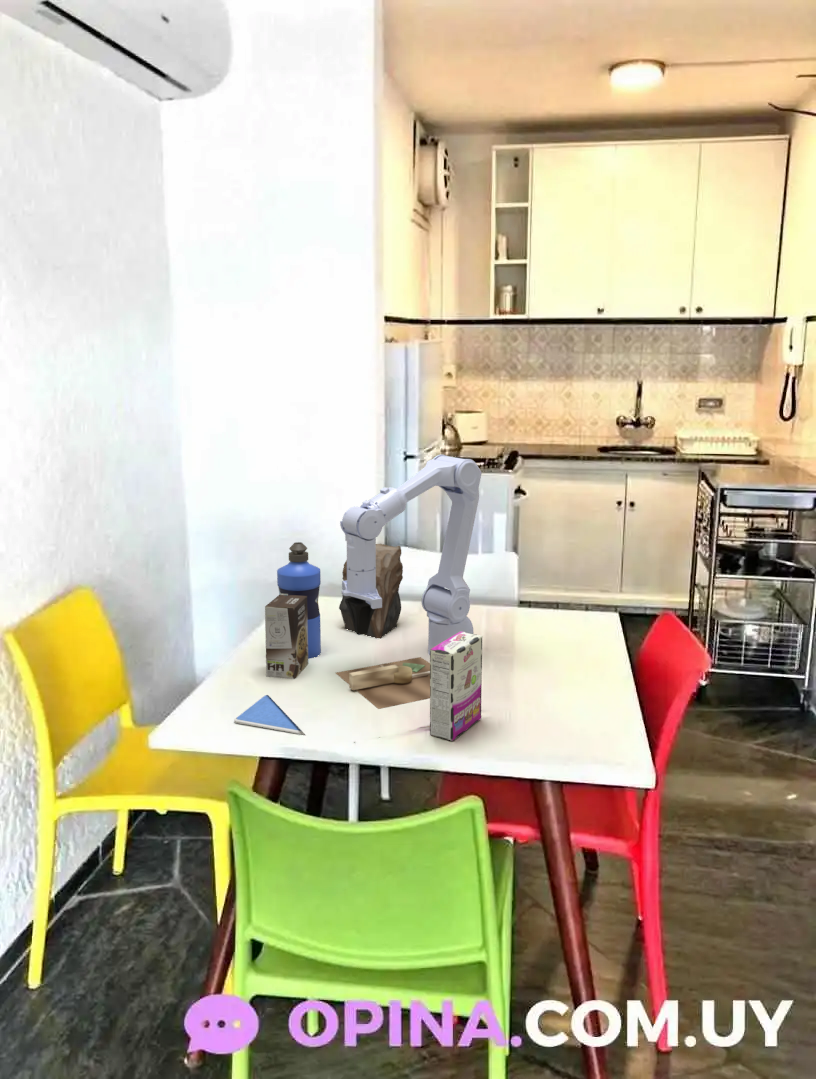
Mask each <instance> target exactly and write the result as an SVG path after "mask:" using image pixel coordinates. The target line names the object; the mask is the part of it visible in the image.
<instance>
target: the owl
mask: <svg viewBox="0 0 816 1079" xmlns="http://www.w3.org/2000/svg"><path fill="white" fill-rule="evenodd" d="M401 556H402V547H401V546H400V545H396V546H392V545H387V544H384V543H383V544H382V543H376V589H377V591H378V594H379V596H380V597H381V598H382V608H376V609H375V611H374V613H373V615H372V618H371V621H370V625H369V629H368V633H367V634H365V635H367V636H366V637H368V636H371V637H370V638H373V637H375V638H374V639H377V638H380V639H381V638H383V637H384V636H385V634H386V635H387V634H388V633H389V631H390V632H392V631H393V629H395V627H396V628H397V627H398V622H399V618H400V615H401V612H402V602H401V597H400V592H399V590H400V585H401V584H402V583H401V582H402V581H403V579H404V577H403V573H404V569H403V568H404V566H403V563H402V561H401ZM346 580H347V559H346V560H345V562H344V564H343V568H342V581H346ZM341 596H342V597H341V598H342V599H341V601H340V603H339V605H338V609H339V611H340V615H341V618H342V620H343V624H344V630H345V629H348V630H352V631H351V632H353V631H355V629H354V625H353V621H352V617H351V614H350V611H349V609H348V607H347V605H346V603H345V599H347V598H351V596H344V595H342V594H341ZM348 630H347V631H348ZM391 630H392V631H391ZM365 635H364V636H365ZM382 636H383V637H382Z"/></svg>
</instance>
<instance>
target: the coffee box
mask: <svg viewBox="0 0 816 1079" xmlns="http://www.w3.org/2000/svg"><path fill="white" fill-rule="evenodd" d="M264 617H265V618H264V620H265V621H264V624H265V627H264V630H265V664H266V665H265V668H266V669H265V670H266V674H265V676H266V677H267V678H279V679H290V680H295V679H297V678H298V676H300V674H301V673H302V672H303V671H304V669H305V668H307V666H308V665H309V659H308V618H307V596H298V595H279V594H278V595H277V596H276V597H275V598H273V599H272V600H271V601H270V602H269V603H267V604H266V605H265V606H264Z"/></svg>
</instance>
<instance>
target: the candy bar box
mask: <svg viewBox="0 0 816 1079" xmlns="http://www.w3.org/2000/svg"><path fill="white" fill-rule="evenodd" d="M429 659H430V660H429V663H430V698H429V734H430V735H431V736H432V737H434V736H435V738H438V737H440V738H439V739H442V738H443V740H447V741H449V740H450V742H453V740H454V741H455V740H456V739H457V738H459V737H460V736H461V735H463V734H464V733H465V732H467V730H468V728H469V729H471V727H472V726H473V725H475V724H476V723H478V722H479V721H480V720H482V681H483V680H482V675H483V635H480V634H475V633H473V634H472V633H467V632H458V633H457V634H455V635H453V636H452V637H450V638H448V639H447V640H445V641H443V642H442V643H440V644H438V645H437V646H435V647H433V648H431V649H430V655H429ZM463 732H464V733H463ZM458 736H459V737H458Z"/></svg>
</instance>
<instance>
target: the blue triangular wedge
mask: <svg viewBox="0 0 816 1079" xmlns="http://www.w3.org/2000/svg"><path fill="white" fill-rule="evenodd" d="M233 723H236V724H241V725H246V726H252V727H258V728H262V727H263V728H264V729H267V730H268V729H269V730H273V729H274V730H275V731H279V732H284V731H285V733H290V734H295V735H301V736H306V734H305V732H303V730H302V729H301V728H300V727H299V726H298V725H297V724H296V723H295V722H294V721H293V720H292V719H291V718H290V717H289V715H287V714H286V712H285V711H284V710H283V709H282V708H281V707H280V706H279V705H278V704H277V702H276V701H274V700H273V699H272V697H271V696H270V695H268V694H266V695H263V696H262V697H260V698H259V699H258V700H257V701H256V702H254V703H253V704H251V705H250V706H249V707H248V708H247V709H245V710H244V711H242V713H240V714H238V715H237V716H236V717H235V718H234V721H233ZM274 730H273V731H274Z"/></svg>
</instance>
